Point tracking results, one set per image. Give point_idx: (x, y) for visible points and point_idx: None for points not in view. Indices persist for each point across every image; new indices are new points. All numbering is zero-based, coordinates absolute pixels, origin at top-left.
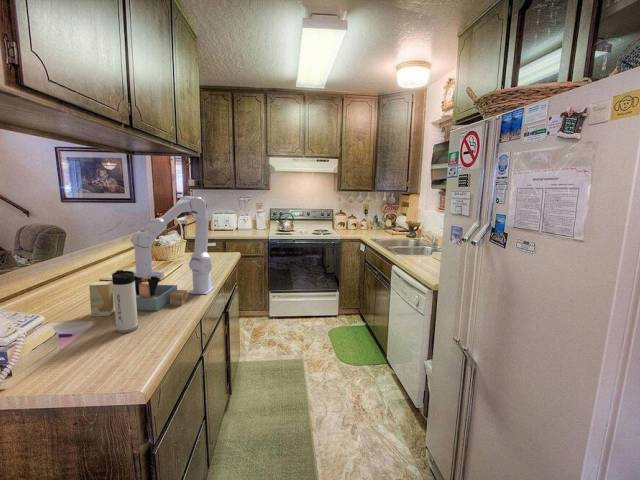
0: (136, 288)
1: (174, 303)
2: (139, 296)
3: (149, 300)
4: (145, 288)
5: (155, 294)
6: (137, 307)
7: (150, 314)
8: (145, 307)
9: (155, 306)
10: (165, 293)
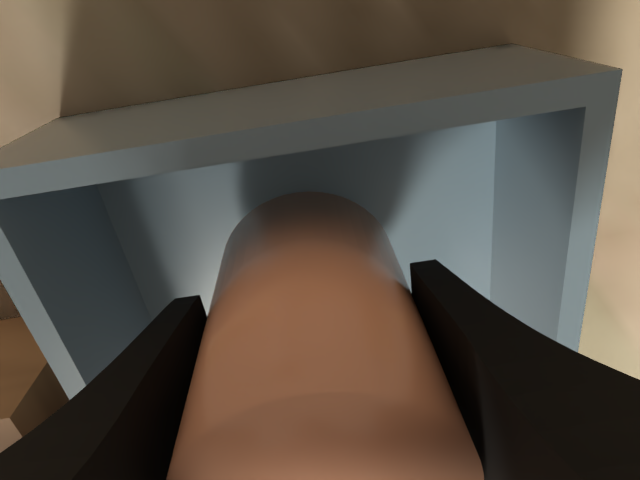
0: (461, 327)
1: (22, 330)
2: (385, 251)
3: (84, 148)
4: (233, 358)
5: None
6: (312, 83)
7: (49, 6)
8: (194, 104)
9: (37, 134)
10: None
